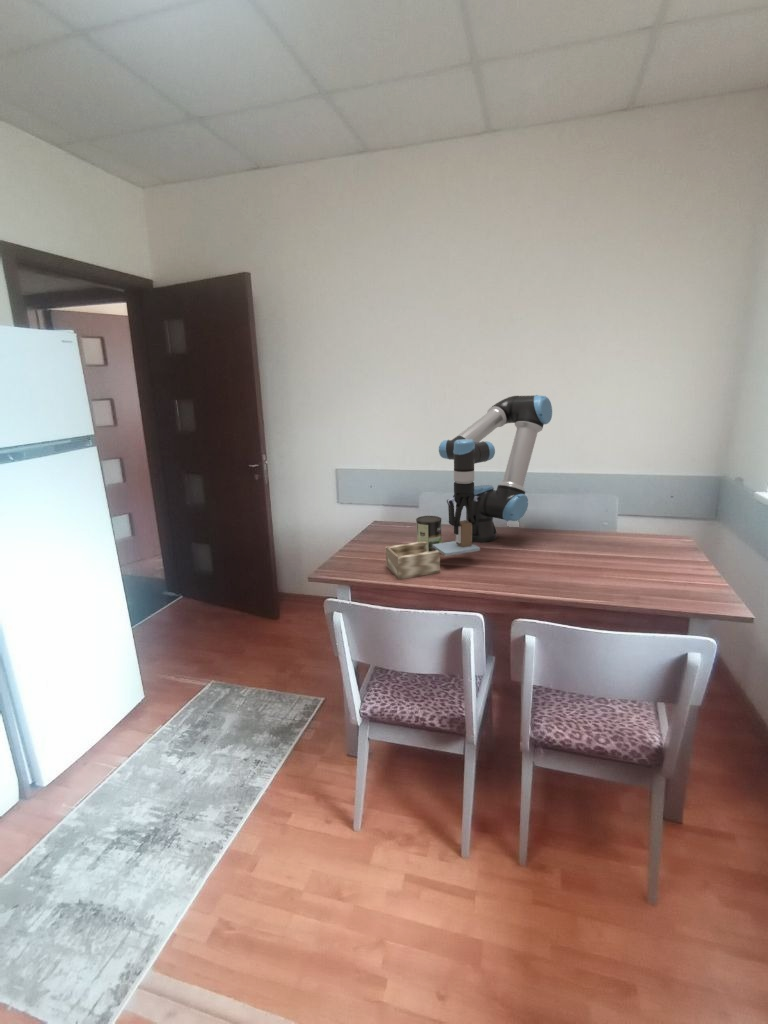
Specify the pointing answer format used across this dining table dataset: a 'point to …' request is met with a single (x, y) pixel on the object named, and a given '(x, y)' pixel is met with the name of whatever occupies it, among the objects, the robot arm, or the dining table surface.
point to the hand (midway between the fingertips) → (463, 541)
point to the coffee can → (429, 531)
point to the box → (412, 560)
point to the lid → (456, 547)
